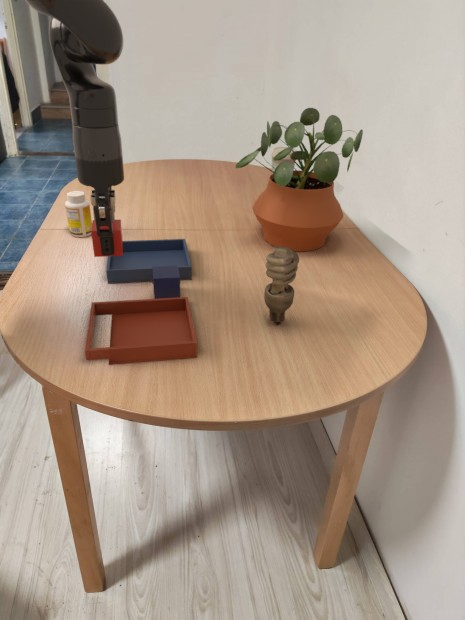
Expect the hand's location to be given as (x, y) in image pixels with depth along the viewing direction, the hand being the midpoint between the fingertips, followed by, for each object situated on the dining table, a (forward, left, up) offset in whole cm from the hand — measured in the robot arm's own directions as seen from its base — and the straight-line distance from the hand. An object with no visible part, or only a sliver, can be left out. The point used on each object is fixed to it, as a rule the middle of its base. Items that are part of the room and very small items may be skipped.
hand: (108, 247), depth 83 cm
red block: (0, 0, -1) cm, 1 cm away
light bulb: (+29, -13, -10) cm, 34 cm away
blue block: (+10, -1, -10) cm, 15 cm away
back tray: (+7, +12, -10) cm, 17 cm away
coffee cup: (+52, +65, -10) cm, 84 cm away
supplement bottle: (-9, +31, -10) cm, 34 cm away
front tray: (+5, -14, -10) cm, 18 cm away
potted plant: (+41, +23, -10) cm, 48 cm away
